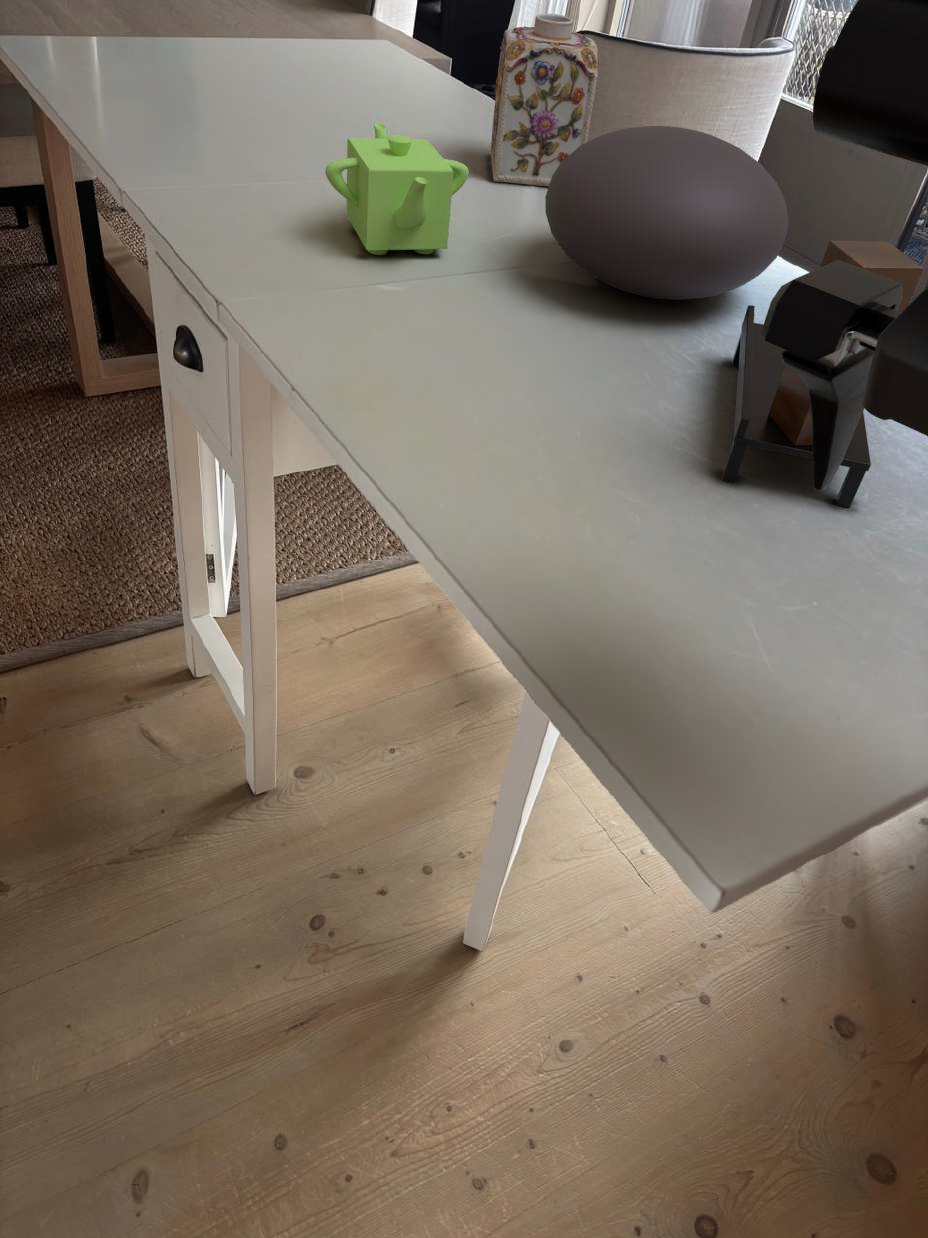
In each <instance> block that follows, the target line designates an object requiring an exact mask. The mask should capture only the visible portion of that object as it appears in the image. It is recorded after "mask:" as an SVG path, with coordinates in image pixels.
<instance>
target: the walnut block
mask: <svg viewBox="0 0 928 1238" xmlns="http://www.w3.org/2000/svg"><path fill="white" fill-rule="evenodd" d="M821 260H822V261H821V264H820V267H819V268H821V267H823V266H825V265H828V264H830V263H832V262H834V261H837V260H840V261H842V262H845V263H848V264H850V265H853V266H856V267H858V268H861V269H864V270H866V271H869V272H872V273H874V274H877V275H880V276H882V277H885V278H888V279H890V280H893V281H896V282H898V283H901V284H902V297H903V298H902V301H901V303H900V306H899V308H898V310H897V311H900V312H902V311H903V310H904V309H905V308H906V307H907V306H908V305H909V304H910V303H911V300H912V299H913V295H914V294H915V291H916V288H917V286H918V284H919V281H920V279H921V276H922V274H923V273H924V270H925V267H924V266H922V265H921V264H920V263H918V262H916V261H915V260H914V259H913V258H911V257H909V255H907V254H905V253H904V252H903V251H901V250H900V249H898V248H897V247H896V246H894V245H893V244H891V243H890V242H889V241H869V240H867V241H866V240H864V241H863V240H829V241H828V243H827V246H826V250H825V252H824V255H823V258H822V259H821ZM864 411H865V408H864V409H863V411H862V413H864ZM861 415H862V414H861ZM769 416H770V417H771V418H772V419H773V420H774V422H775V423H776V424H777V425H778V426H779V427H780V429H781V430H782V431H783V432H784V433H785V434H786V436H787V437H788V438H789V439H790V440H791V442H792V443H793V444H794V445H795V446H803V445H813V430H812V412H811V405H810V397H809V392H808V389H807V387H806V385H805V384H804V382H803V381H802V379H801V378H800V376H799V375H798V373H797V372H796V371H795V370H794V369H792V368H790V367H788V366H785V369H784V372H783V374H782V377H781V380H780V383H779V386H778V389H777V391H776V394H775V397H774V400H773V403H772V406H771V409H770V411H769ZM860 418H861V416H860ZM859 420H860V419H859ZM858 422H859V421H858ZM857 425H858V424H857ZM856 427H857V426H856ZM854 432H855V431H854Z"/></svg>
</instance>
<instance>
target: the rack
mask: <svg viewBox="0 0 928 1238" xmlns="http://www.w3.org/2000/svg"><path fill="white" fill-rule="evenodd" d="M755 308H756V306H755V305H750V304H748V305H747V308H746V311H745V314H744V318H743V321H742V324H741V331H740V334H739V339H738V341H737V344H736V348H735V351H734V354H733V358H732V362H731V366H733V367H738V372H737V387H736V402H735V415H734V429H733V442H732V445H731V448H730V451H729V454H728V457H727V461H726V463H725V465H724V469H723V472H722V481H723V482H729V483H733V484H734V483H736V482H737V478H738V475H739V472H740V469H741V467H742V463H743V460H744V457H745V455H746V452H747V449H748V447H752V448H756V449H761V450H765V451H770V452H774V453H779V454H785V455H788V456H794V457H798V458H803V459H808V460H812V461H813V445H803V446H795V445H794V444H793V443H792V442H791V440H790V439H789V438H788V437H787V436H786V434H785V433H784V432H783V431H782V430H781V429H780V427H779V426H778V425H777V424H776V423H775V422H774V420H773V419H772V418H771V417H770V416H769V411H770V409H771V406H772V403H773V400H774V397H775V394H776V391H777V389H778V386H779V383H780V380H781V377H782V374H783V372H784V369H785V366H786V365H785V364H784V363H783V361H782V356H781V354H782V352H783V351H784V350H785V349H783V348H780V347H778V346H776V345H774V344H771V343H769V342H767V341H765V340H764V338H763V336H762V335H761V331H762V328H763V325H764V323H763V324H762V323H757V322H755V311H756V309H755ZM865 421H866V420H865V413H864V412H863V413H862V415H861V418H860V420H859V422H858V425H857V427H856V429H855V432H854V434H853V436H852V439H851V441H850V444H849V446H848V449H847V451H846V454H845V456H844V459H843V461H842V462H841V464H840V467H846V468H848V470H847V473H846V475H845V477H844V480H843V482H842V484H841V487H840V489H839V491H838V493H837V496H836V497H835V499H836V505H837V506H840V507H843V508H851V506H852V504H853V502H854V499H855V497H856V495H857V493H858V490H859V488H860V486H861V484H862V482H863V480H864V477H865V475H866V472H869V470H870V469H871V465H872V462H871V454H870V448H869V443H868V442H869V441H868V434H867V427H866V422H865Z"/></svg>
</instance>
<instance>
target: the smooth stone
mask: <svg viewBox="0 0 928 1238" xmlns="http://www.w3.org/2000/svg"><path fill="white" fill-rule="evenodd" d="M778 184H779V183H777V181H776V180H775V178H773V176H772V175H771V174H770V173H769V172H768V171H767V169H765V167H764V166H763V164H761V163H760V162H759V161H757V160H756V159H755V158H754V157H752V156H751V155H750V154H748V153H747V152H746V151H744V150H743V149H741V148H740V147H738V146H736V145H735V144H732V143H730V142H728V141H726V140H724V139H722V138H719V137H717V136H714V135H713V134H709V133H706V132H703V131H699V130H695V129H692V128H691V129H690V128H685V127H680V126H672V125H671V126H669V125H646V126H633V127H626V128H621V129H618V130H613V131H611V132H607V133H603V134H602V135H599V136H596V137H594V138H592V139H591V140H589V141H587V143H585V144H583V145H581V146H579V147H578V148H577V149H576V150H575V151H574V152H573V153H571V154H570V155H569V156H568V157H567V158H566V159H565V160H563V161H562V162H561V163H560V165H559V166H558V168H557V169H556V171H555V172H554V174H553V175H552V178H551V181H550V184H549V187H548V186H547V190H546V193H545V198H544V199H545V200H544V202H545V203H544V205H545V206H544V207H545V217H546V219H547V223H548V226H549V230H550V233H551V235H552V236H553V238H554V239H555V241H556V242H557V244H558V246H559V247H560V248H561V250H562V251H563V253H564V254H565V255H566V256H567V257H568V258H569V259H570V260H571V261H572V262H573V263H574V264H575V265H577V266H578V267H579V268H580V269H581V270H583V272H585V273H586V274H588V275H590V276H591V277H593V278H594V279H597V280H598V281H600V282H602V283H604V284H607V285H608V286H611V287H613V288H615V289H617V290H620V291H624V292H626V293H630V294H633V295H637V296H640V297H645V298H652V299H658V300H659V299H660V300H669V301H671V300H674V301H675V300H676V301H677V300H678V301H679V300H681V301H682V300H683V301H684V300H693V299H703V298H710V297H714V296H718V295H721V294H725V293H727V292H730V291H734V290H735V289H738V288H740V287H742V286H745V285H746V284H748V283H749V282H751V281H753V280H754V279H756V278H757V277H759V276H760V275H761V274H762V273H763V272H765V271H766V270H767V269H768V268H769V267H770V266H771V264H772V263H773V262H774V261H776V259H777V258H778V256H779V253H780V252H781V250H782V248H783V246H784V245H785V241H786V238H787V233H788V228H789V215H788V209H787V204H786V200H785V197H784V195H783V193H782V191H781V189H780V187H779V185H778Z"/></svg>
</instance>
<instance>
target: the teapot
mask: <svg viewBox="0 0 928 1238" xmlns="http://www.w3.org/2000/svg"><path fill="white" fill-rule="evenodd" d="M373 129H374V137H375V138H367V137H366V138H365V137H364V138H363V137H362V138H361V137H348V138H347V143H346V144H347V149H346V151H347V152H346V154H347V155H346V158H341V159H336V160H333V161H331V162H329V163H328V164H327V165H326V167H325V171H324V172H325V177H326V178H327V179H326V180H328V182H329V184H330V185H331V187H332V188H333V189H334V190H335V191H336V192H338V193H339V194H340V195H341V196H342V197H343V198H344V199H346V216H347V218H348V220H349V222H350V224H351V225H352V227H353V229H354V231H355V232H356V235H357V236H358V237H359V239H360V241H361V244H362V245H363V247H364V249H365V250H366V251H367V252H368V253H370V254H372V255H377V256H383V255H386V254H387V253H388V251H402V250H403V251H404V250H405V251H406V250H413V251H414V252H415V253H417V254H421V255H430V254H433V252H434V250H447V249H448V241H449V229H450V220H451V219H450V218H451V208H452V207H451V206H452V197H453V196H454V195H455V194H456V193H457V192H458V191H459V190H461V188H462V187H463V186H464V185H465V183H466V181H467V179H468V178H469V174H470V173H469V168H468V167H467V165H465V164H464V163H463V162H460V161H456V160H453V159H447V158H444V157H443V156H442V155H441V154H440V153H439V152H438V151H437V149H436V148H435V147H434V146H433V145H432V144H431V143H430V141H429V140H428V139H426V138H425V139H422V138H421V139H420V138H419V139H416V138H411V137H409V136H407V135H404V134H403V135H402V134H392V135H388V131H387V127H386V126H385V125H384V124H383V123H381V122H375V123H374V124H373ZM345 170H346V181H345V180H344V178H343V175H342V173H343V172H344V171H345Z"/></svg>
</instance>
